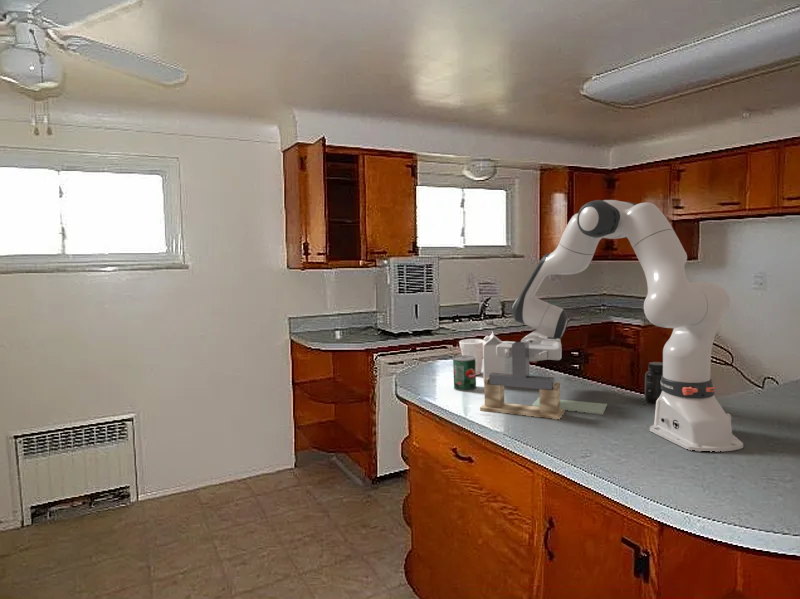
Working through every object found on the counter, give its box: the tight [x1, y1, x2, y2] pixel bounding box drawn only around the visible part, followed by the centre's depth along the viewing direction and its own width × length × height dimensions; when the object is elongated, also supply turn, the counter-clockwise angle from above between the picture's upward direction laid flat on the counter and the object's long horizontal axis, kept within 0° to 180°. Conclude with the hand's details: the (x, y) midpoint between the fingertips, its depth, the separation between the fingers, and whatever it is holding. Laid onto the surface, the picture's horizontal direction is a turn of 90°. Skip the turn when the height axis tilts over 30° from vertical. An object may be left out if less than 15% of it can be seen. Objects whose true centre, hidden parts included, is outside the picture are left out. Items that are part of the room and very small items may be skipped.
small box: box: [501, 340, 513, 374], centre depth 206 cm, size 8×6×13 cm
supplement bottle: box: [644, 361, 663, 405], centre depth 169 cm, size 7×7×12 cm
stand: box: [479, 377, 566, 421], centre depth 165 cm, size 24×7×10 cm, turn 62°
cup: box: [458, 338, 484, 376], centre depth 213 cm, size 10×10×13 cm
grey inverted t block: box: [489, 341, 555, 390], centre depth 164 cm, size 19×4×13 cm, turn 62°
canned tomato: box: [452, 355, 477, 392], centre depth 194 cm, size 8×8×11 cm
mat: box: [530, 396, 608, 415], centre depth 169 cm, size 21×9×1 cm, turn 62°
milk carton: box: [482, 330, 505, 380], centre depth 197 cm, size 7×7×19 cm
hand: (522, 356), depth 165 cm, fingers open, 8 cm apart
